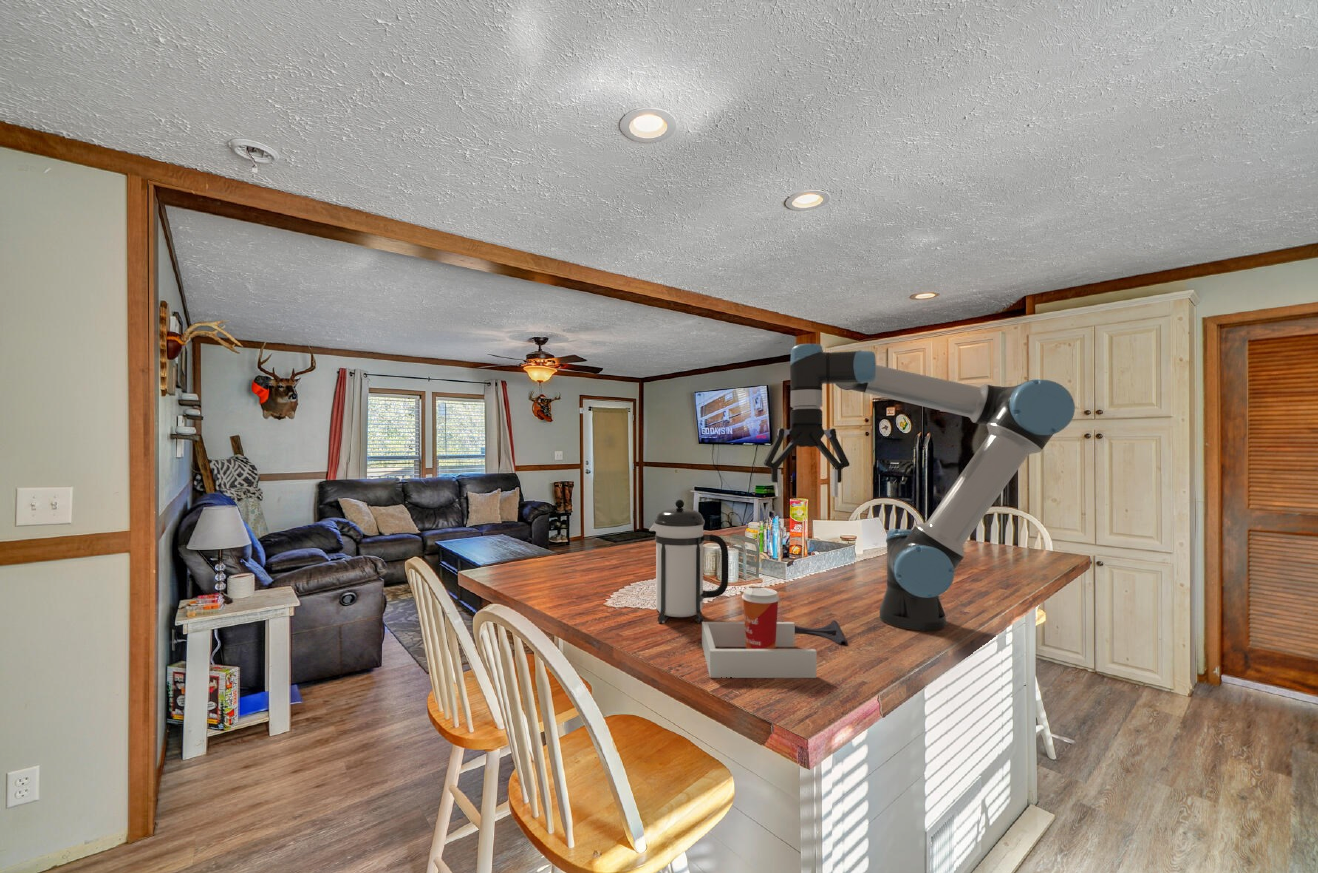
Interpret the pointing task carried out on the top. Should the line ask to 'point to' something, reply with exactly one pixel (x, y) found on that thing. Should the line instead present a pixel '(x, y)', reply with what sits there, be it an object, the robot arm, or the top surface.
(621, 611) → the top surface
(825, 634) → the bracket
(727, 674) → the box
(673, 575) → the coffee press
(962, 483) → the robot arm
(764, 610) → the paper cup
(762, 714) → the top surface
